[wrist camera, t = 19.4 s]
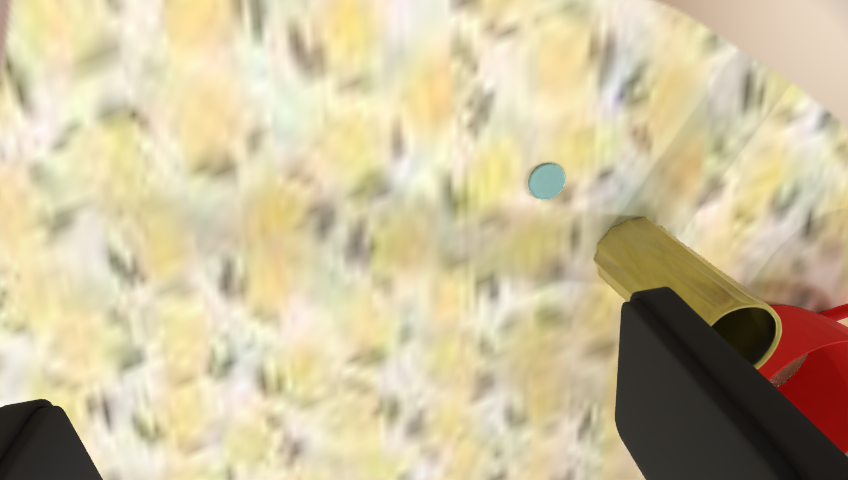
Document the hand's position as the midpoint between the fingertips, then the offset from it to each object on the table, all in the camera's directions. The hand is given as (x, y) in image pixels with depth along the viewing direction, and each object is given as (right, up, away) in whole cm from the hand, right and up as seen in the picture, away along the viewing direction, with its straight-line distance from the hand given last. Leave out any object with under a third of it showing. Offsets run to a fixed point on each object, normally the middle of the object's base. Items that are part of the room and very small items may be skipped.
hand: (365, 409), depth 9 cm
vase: (+16, +3, +34) cm, 38 cm away
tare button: (+9, +7, +30) cm, 32 cm away
